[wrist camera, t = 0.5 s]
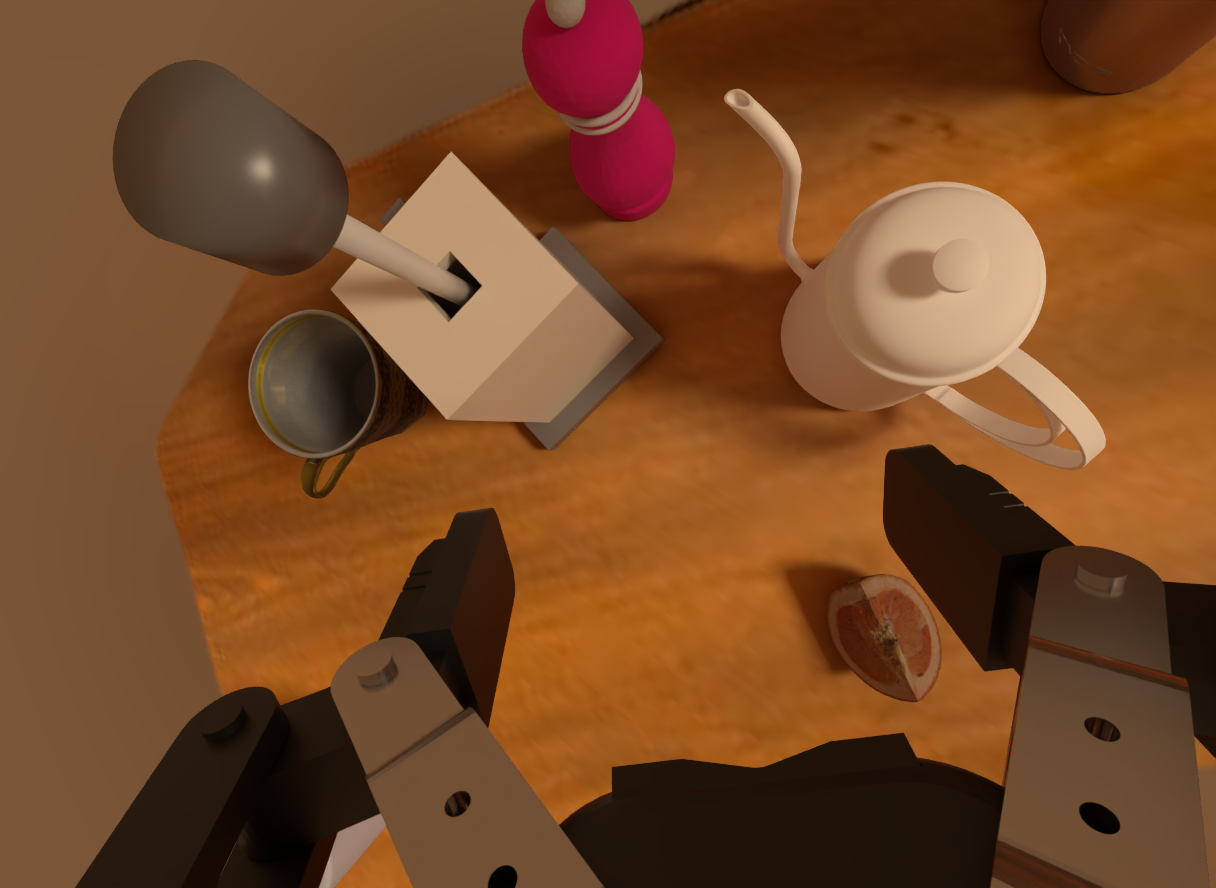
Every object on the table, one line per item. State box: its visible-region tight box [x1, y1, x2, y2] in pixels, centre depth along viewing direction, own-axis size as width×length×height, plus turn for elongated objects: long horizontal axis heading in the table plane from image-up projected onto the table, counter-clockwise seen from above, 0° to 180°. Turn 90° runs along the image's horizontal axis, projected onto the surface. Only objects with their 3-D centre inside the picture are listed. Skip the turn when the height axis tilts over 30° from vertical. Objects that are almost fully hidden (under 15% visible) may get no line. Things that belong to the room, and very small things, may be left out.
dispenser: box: [331, 152, 664, 450], centre depth 37 cm, size 12×13×18 cm
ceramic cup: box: [248, 309, 427, 498], centre depth 45 cm, size 13×10×10 cm
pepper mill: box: [522, 0, 675, 221], centre depth 35 cm, size 7×7×20 cm
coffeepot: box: [724, 89, 1106, 470], centre depth 33 cm, size 11×25×19 cm, turn 46°
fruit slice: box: [827, 574, 941, 702], centre depth 40 cm, size 8×7×5 cm
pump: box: [113, 60, 479, 307], centre depth 25 cm, size 4×4×21 cm
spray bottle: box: [319, 814, 386, 888], centre depth 39 cm, size 6×6×22 cm
